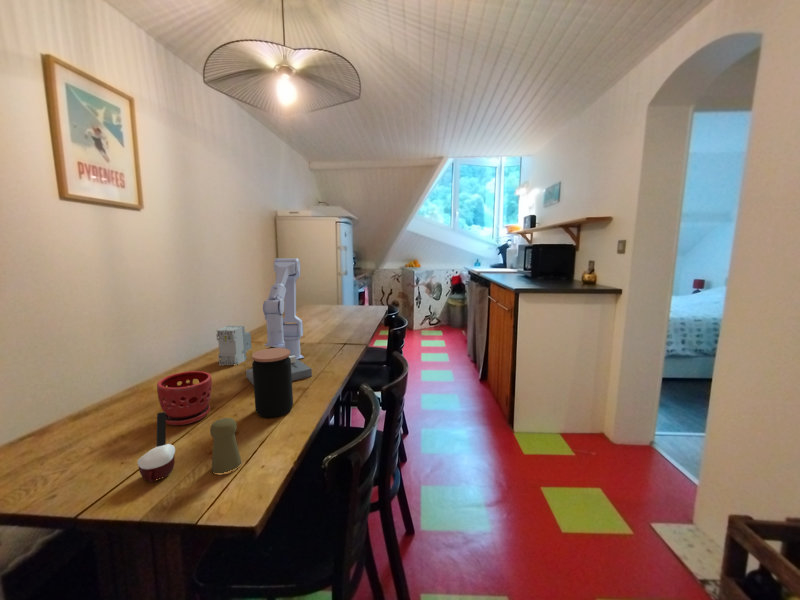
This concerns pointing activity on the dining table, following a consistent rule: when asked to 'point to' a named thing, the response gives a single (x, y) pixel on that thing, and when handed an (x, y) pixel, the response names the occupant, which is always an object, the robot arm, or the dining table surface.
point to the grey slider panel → (297, 370)
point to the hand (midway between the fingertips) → (277, 365)
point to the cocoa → (158, 455)
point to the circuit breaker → (233, 344)
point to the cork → (224, 446)
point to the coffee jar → (272, 382)
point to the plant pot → (185, 397)
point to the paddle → (293, 359)
